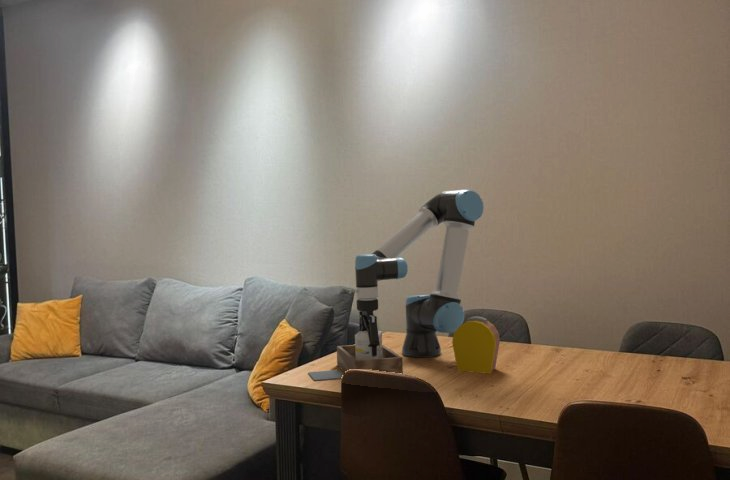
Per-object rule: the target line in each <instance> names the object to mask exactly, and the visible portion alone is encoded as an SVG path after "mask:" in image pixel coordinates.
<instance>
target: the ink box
mask: <svg viewBox="0 0 730 480" xmlns="http://www.w3.org/2000/svg"><path fill="white" fill-rule="evenodd" d="M378 336H379V343H380V344H379V345H378V346H377V347H378V359H382V358H383V353H382V345H383V331H382V330H378ZM369 344H370V342H369V336H368V331H359V330H358V332H357V333H356V334H354V345H355V357H356V360H357V361H358V360H370V354H369V347H368V345H369Z"/></svg>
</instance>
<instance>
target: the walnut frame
mask: <svg viewBox="0 0 730 480" xmlns="http://www.w3.org/2000/svg"><path fill="white" fill-rule="evenodd" d="M382 353H383V358H382V359H370V360H358V361H357V360H356V357H355V344H349V345H337V346H336V365H337V366H338V367H339V368H340V370H342V371H343V372H344V373H345V371H347V370H349V369H372V370H379V371H386V372H395V373H402V374H403V375H404V369H403V368H404V365H403V362H404V359H403V357H402V356H401V355H399V354H398V353H396V352H395V351H392V350H391V349H390V348H388V347H387V346H385V345H383V344H382Z"/></svg>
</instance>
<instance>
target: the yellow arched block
mask: <svg viewBox="0 0 730 480" xmlns="http://www.w3.org/2000/svg"><path fill="white" fill-rule="evenodd" d="M452 336H453V337H452V341H451V342H452V347H453V353H454V359H455V365H456V369H457V370H460V371H459V372H465V371H473V372H472V373H477V372H485V373H484V374H488V373H490V374H491V373H492V372H493V371H495V369H496V366H497V359H498V354H499V350H500V349H499V348H500V342H501V339H500V334H499V331H498V330H497V328H496V327H495V325H494V324H493V323H492V322H490V321H489V320H488V318H486V317H482V316H478V315H477V316H471V317H468V318H466V321H465V322H463V323H462V325H461V326H459V327H458V328H457V330H456V331H455V332H453V335H452Z"/></svg>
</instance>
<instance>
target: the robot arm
mask: <svg viewBox="0 0 730 480" xmlns="http://www.w3.org/2000/svg"><path fill="white" fill-rule="evenodd" d="M483 214H484V201H483V198H481V196H480V194H479V193H478V192H476V191H475V190H472V189H459V190H458V189H457V190H445V191H442V192H439V193H438V194H436V195H435V196H433V197H432V198H430V199H429V200H428V201H427V202H426V203H424V204H423V205H422V206H421V207H420V208H419V209H418V213H417V214H416V215H414V217H412V218H411V219H410V220H409V221H408V222H406V223H405V224H404V225H403V226H402V227H401V228H400V229H399V230H397V231H396V232H395V233H394V234H393V235H391V237H390V238H389V239H387V240H386V241H385V242H384V243H383V244H381V245H380V246H379V247H377V249H376V250H374V252H372V253H364V254H362V253H361V254H358V255H356V256H355V259H354V260H355V261H354V263H355V266H354V271H355V286H356V287H355V290H354V293H356V310H357V311H358V315H359V319H358V321H359V322H358V332H359V331H368V336H369V342H370V344H369V345H368V347H369V354H370V359H378V347H377V346H378V345H379V344H380V343H379V336H378V331H379V330H378V328H379V327H378V317H377V316H376V315H374V311H377V310H379V299H378V297H379V289H378V288H379V285H378V284H379V283H378V282H379V281H388V280H399V279H404V278H405V277H406V276H407V274H408V269H409V268H408V263H407V261H406V259H405V258H403V257H400V256H401V255H402V254H403V253H405V251H407V250H408V249H409V248H410V247H411V246H412V245H413V244H415V243H416V242H417V241H418V240H420V238H422V236H424V235H425V234H426V233H427V232H428V231H429V230H430V229H431V228H436V227H438V226H439V225H440V224H441V223H443V225H444V226H445V228H446V229H445V234H444V239H443V244H442V245H443V246H442V249H441V257H440V261H439V267H438V273H437V279H436V284H435V289H434V290H433V291H431V292H430V294H421V295H418V294H417V295H410V296H407V297H406V299H405V328H406V329H405V330H406V333H405V338H404V340H403V343H402V344H403V345H402V347H401V349H402V350H401V353H402V355H403V356H406V357H411V358H432V357H437V356H440V355H441V354H442V351H441V350H442V348H441V345H440V342H439V339H438V336H437V332H438V333H441V334H451V333H452V334H454V333H455V331H456V330H457V328H458V327H459V326H461V325H462V324H464V321H465V311H464V308H463V306H462V305H461V302H462V301H461V300H462V298H461V297H460V295H459V289H460V283H461V279H462V275H463V274H462V272H463V267H464V262H465V255H466V250H467V246H468V245H467V244H468V238H469V234H470V232H471V230H473V229H475V223H476V221H477V220H479V219H480V218H481V217H482V216H483Z"/></svg>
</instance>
